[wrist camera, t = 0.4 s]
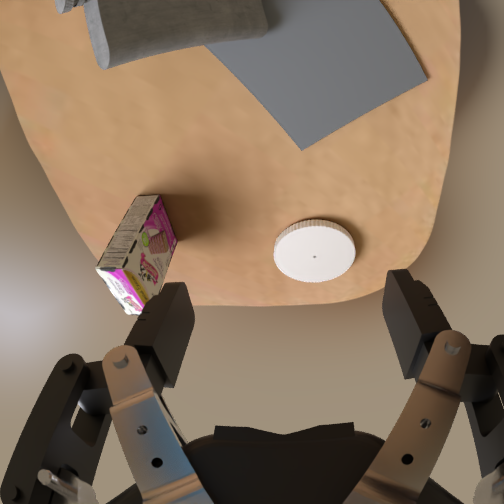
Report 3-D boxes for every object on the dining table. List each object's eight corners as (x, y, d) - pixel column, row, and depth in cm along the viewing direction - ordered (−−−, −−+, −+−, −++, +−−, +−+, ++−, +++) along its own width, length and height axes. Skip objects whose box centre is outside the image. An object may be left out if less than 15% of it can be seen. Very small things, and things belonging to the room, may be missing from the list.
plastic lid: (369, 242, 50) (371, 253, 48) (316, 281, 59) (317, 291, 57) (309, 200, 45) (310, 211, 43) (258, 250, 54) (257, 260, 52)
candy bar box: (179, 241, 54) (153, 318, 43) (155, 242, 55) (126, 315, 44) (161, 192, 46) (121, 270, 35) (135, 194, 47) (92, 269, 36)
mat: (204, 43, 29) (202, 44, 28) (338, -46, 18) (339, -48, 18) (301, 148, 38) (301, 150, 38) (425, 78, 28) (427, 80, 27)
